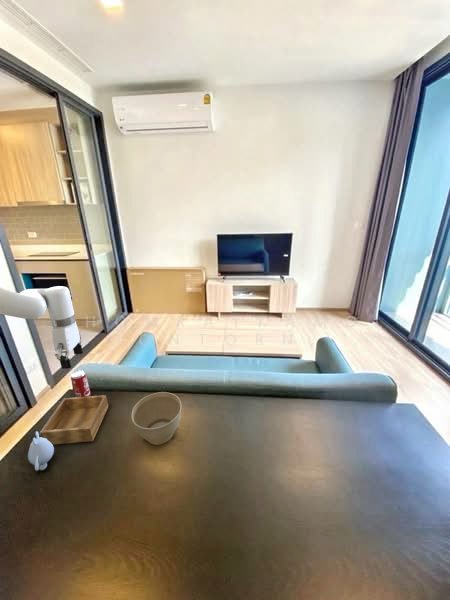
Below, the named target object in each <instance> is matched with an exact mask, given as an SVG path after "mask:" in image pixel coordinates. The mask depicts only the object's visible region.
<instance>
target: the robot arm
mask: <svg viewBox="0 0 450 600" xmlns="http://www.w3.org/2000/svg"><path fill="white" fill-rule="evenodd" d="M46 311H48V315H49V319H50V324H51V327H52V329H51V333H52V342H53V348H54V351H55V352H54V356H55V358H56V359H57V360H58V361H59V363H60V368H61V369H63V370H64V369H72V363H71V359H70V358H69V354H70V352H72V351H73V354H74V355H82V354H83V353H84V351H83V347H82V346H83V345H82V341H81V340H82V336H81V335H82V333H81V330H79V327H78V324H77V319H76V314H75V310H74V306H73V300H72V297H71V292H70V289H69V288H68V287H67V286H63V285H62V286H60V285H58V286H52V287H51V286H50V287H49V288H28V289H25V290H22V291H20V292H16V291H12V290H9V289H6V288H3V287H1V286H0V315H3V316H8V317H13V318H20V319H26V320H35V319H39V318H41V317H42V316H43V315H45V313H46ZM63 354H64V355H63Z"/></svg>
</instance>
